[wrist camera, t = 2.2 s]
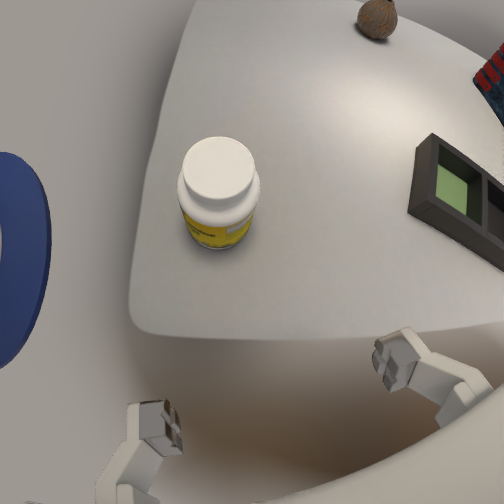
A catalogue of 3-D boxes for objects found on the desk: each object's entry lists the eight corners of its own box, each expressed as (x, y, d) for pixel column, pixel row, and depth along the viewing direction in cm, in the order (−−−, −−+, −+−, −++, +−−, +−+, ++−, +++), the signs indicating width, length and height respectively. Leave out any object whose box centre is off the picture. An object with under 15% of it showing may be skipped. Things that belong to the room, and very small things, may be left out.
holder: (407, 212, 32) (426, 200, 28) (416, 147, 35) (432, 132, 31) (503, 271, 32) (522, 266, 28) (505, 210, 35) (522, 202, 31)
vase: (371, 46, 39) (390, 10, 31) (345, 23, 40) (360, -13, 32) (394, 43, 40) (413, 11, 32) (369, 21, 41) (384, -11, 33)
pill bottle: (174, 214, 29) (152, 158, 18) (224, 180, 30) (227, 112, 20) (212, 264, 28) (207, 229, 18) (263, 225, 30) (286, 174, 19)
